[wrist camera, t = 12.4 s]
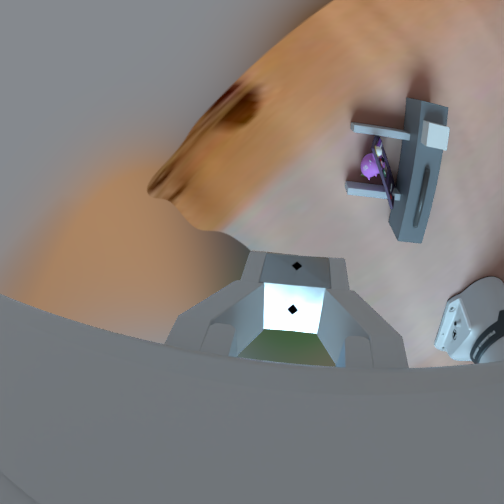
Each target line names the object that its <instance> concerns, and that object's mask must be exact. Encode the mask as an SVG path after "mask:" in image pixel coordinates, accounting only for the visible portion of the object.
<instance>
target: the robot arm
mask: <svg viewBox="0 0 504 504" xmlns="http://www.w3.org/2000/svg"><path fill="white" fill-rule="evenodd" d="M263 328H266V329H278V330H290V329H291V331H300V332H309V333H317V335H318V337H319V339H320V340H321V342H322V343H323V345H324V347H325V348H326V349H327V351H328V353H329V354H330V356H331V358H332V359H333V361H334V362H335V364H336V366H335V367H330V366H329V367H328V366H313V365H301V364H290V363H280V362H270V361H262V360H254V359H246V358H239V357H238V354H239V353H240V352H241V351H242V350H243V349H244V348H245V347H246V346H247V345H248V344H249V343H250V342H251V341H252V340H253V339H255V338H256V336H258V335H259V333H260V332H262V330H263ZM434 345H435V347H436V348H437V349H439V350H442V351H447V353H448V355H449V356H450V357H451V358H452V359H454V360H458V361H473V362H474V363H475V364H469V365H458V366H444V367H427V368H409V367H408V362H407V357H406V352H405V348H404V343H403V339H402V336H401V335H400V334H399V333H398V332H396V331H395V330H394V329H393V328H392V327H391V326H390V325H389V324H388V323H387V322H386V321H385V320H384V319H383V318H382V317H381V316H380V315H379V314H378V313H377V312H376V311H375V310H374V309H373V308H372V307H371V306H370V305H369V304H368V303H366V302H365V301H364V300H363V299H362V298H361V297H360V296H359V295H358V294H357V293H356V292H355V291H351V290H349V283H348V276H347V269H346V263H345V259H344V258H330V257H329V258H327V257H311V256H298V255H291V254H282V253H272V252H263V251H251V252H250V253H249V256H248V259H247V262H246V265H245V268H244V271H243V275H242V277H241V280H240V281H238V280H236V281H234V282H232V283H231V284H229V285H228V286H226V287H224V288H223V289H221V290H220V291H218V292H216V293H215V294H213V295H211V296H210V297H208V298H207V299H205V300H204V301H202V302H200V303H198V304H197V305H195V306H194V307H192V308H190V309H189V310H187V311H185V312H184V313H182V314H180V315H179V316H178V318H177V320H176V322H175V324H174V326H173V328H172V330H171V332H170V334H169V336H168V338H167V340H166V342H165V344H160V343H156V342H152V341H147V340H142V339H139V338H135V337H131V336H126V335H123V334H118V333H114V332H111V331H107V330H104V329H100V328H97V327H93V326H90V325H86V324H83V323H80V322H77V321H73V320H70V319H67V318H64V317H61V316H58V315H55V314H52V313H49V312H46V311H43V310H40V309H38V308H35V307H32V306H30V305H27V304H24V303H21V302H19V301H16V300H14V299H11V298H9V297H6V296H4V295H2V294H0V504H504V283H503V282H502V281H501V280H500V279H499V278H497V277H486V278H483V279H480V280H478V281H476V282H475V283H473V284H472V285H470V286H469V287H468V288H467V289H465V290H464V291H463V292H462V293H460V294H459V295H456V296H454V297H452V298H451V299H449V300H448V302H447V305H446V308H445V312H444V315H443V318H442V322H441V325H440V328H439V331H438V334H437V337H436V340H435V343H434Z"/></svg>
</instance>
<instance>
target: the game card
mask: <svg viewBox="0 0 504 504" xmlns="http://www.w3.org/2000/svg"><path fill="white" fill-rule="evenodd" d="M377 140H378V144H377V146H376V143H377ZM371 149H372V152H373V153H370V154H367V155H366V156H365V157H364V158H363V159H362V161H361V171H362V173H363V174H362V175H361V176H362V177H363V176H366V177H367V178H368V180H370V177H373V176H376V177H377V174H378V173H380V176H381V179H382V182H383V185H384V188H385V192H386V195H387V199H388V202H389V206H390V209H393V207H394V200H395V196H393V194H392V192H393V189H394V188H396V186H395V183H394V180H393V176H392V173H391V169H390V166H389V163H388V160H387V157H386V154H385V151H384V148H383V144H382V141H381V139H380V137H379V136H378V135H375V137H374V140H373V143H372V146H371ZM382 154H383V157H384V158H383V157H382ZM385 163H386V166H387V169H388V170H387V176H386V173H385V170H384V167H385ZM385 178H386V181H385Z"/></svg>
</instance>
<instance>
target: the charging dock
mask: <svg viewBox="0 0 504 504" xmlns="http://www.w3.org/2000/svg"><path fill="white" fill-rule="evenodd" d="M447 115H448V107H444V106H441V105H437V104H433V103H429V102H425V101H421V100H417V99H412V98H407V97H406V111H405V122H404V130H400V129H395V128H389V127H383V126H376V125H370V124H362V123H355V122H351V130H352V131H353V132H357V133H364V134H371V135H378V136H385V137H391V138H397V139H402V148H401V155H400V162H399V169H398V175H397V181H396V188H394V189H393V192H392V194H393V196H395V200H394V207H393V209H391V213H390V218H389V224H390V226H391V228H392V230H393V232H394V234H395V236H396V238H397V240H398V241H403V242H413V243H422V240H423V236H424V233H425V229H426V226H427V222H428V218H429V215H430V211H431V207H432V202H433V198H434V194H435V189H436V185H437V180H438V175H439V170H440V164H441V159H442V153H443V150H447V144H448V137H449V130H450V128H449V127H447V126H446V124H447ZM345 189H346V192H347V195H357V196H366V197H375V198H383V199H387V195H386V192H385V188H384V185H376V184H368V183H360V182H351V181H346V183H345Z"/></svg>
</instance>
